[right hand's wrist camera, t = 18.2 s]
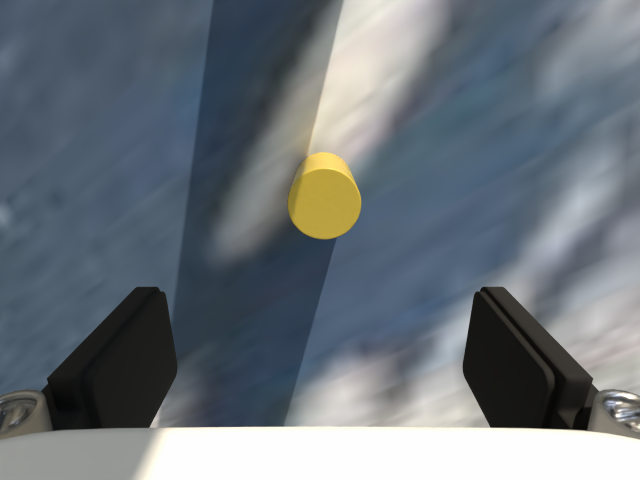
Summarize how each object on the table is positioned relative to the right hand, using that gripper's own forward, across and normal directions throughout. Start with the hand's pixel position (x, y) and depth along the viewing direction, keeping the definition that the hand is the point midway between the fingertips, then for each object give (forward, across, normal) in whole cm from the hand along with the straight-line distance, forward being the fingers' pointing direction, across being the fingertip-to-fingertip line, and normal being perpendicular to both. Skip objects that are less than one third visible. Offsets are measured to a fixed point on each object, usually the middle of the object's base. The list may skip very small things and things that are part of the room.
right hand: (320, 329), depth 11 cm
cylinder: (+22, 0, 0) cm, 22 cm away
